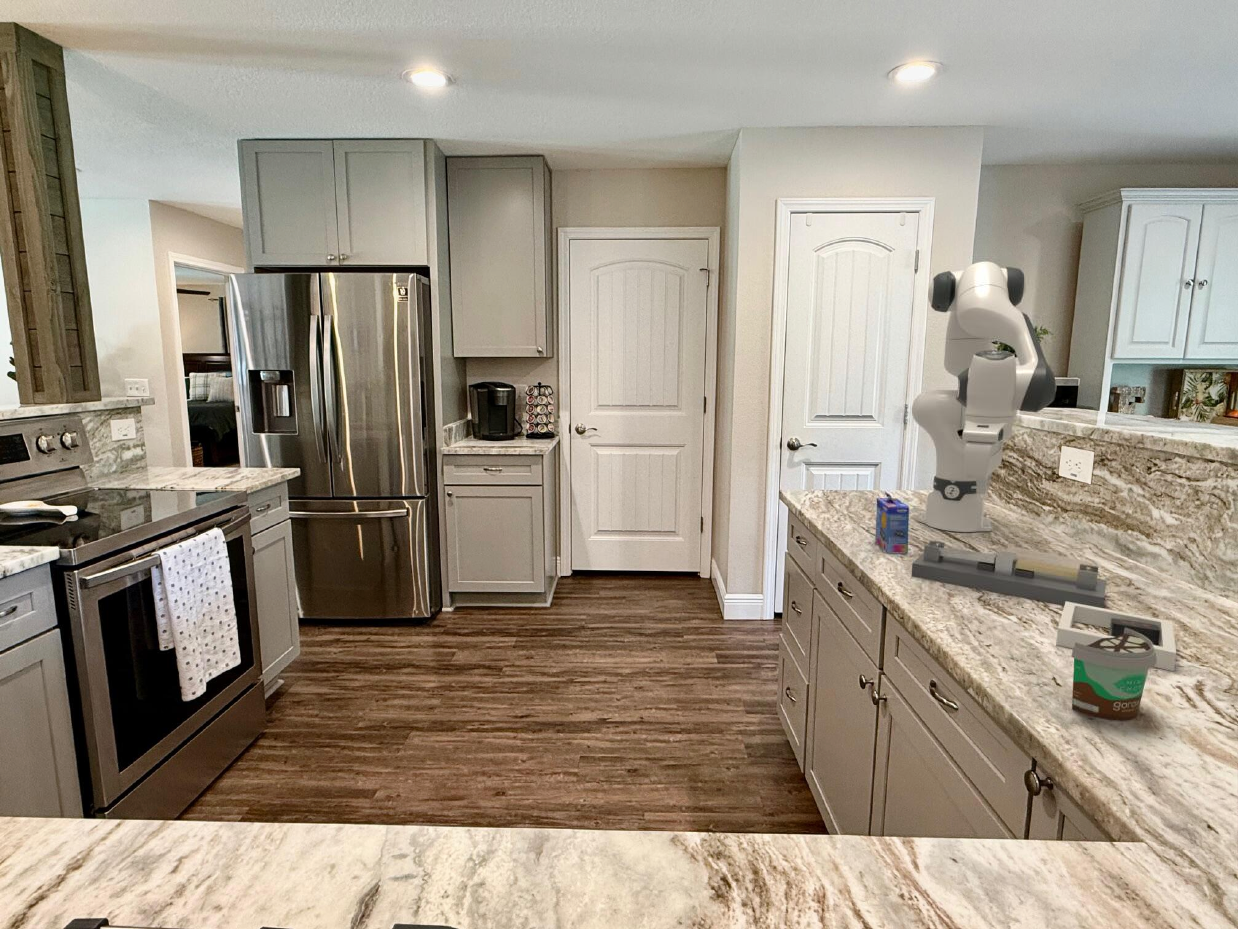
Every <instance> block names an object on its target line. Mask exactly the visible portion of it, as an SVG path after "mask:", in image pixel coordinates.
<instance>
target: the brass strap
mask: <svg viewBox="0 0 1238 929" xmlns="http://www.w3.org/2000/svg"><path fill="white" fill-rule="evenodd" d="M1016 568H1018V569H1024V570H1029V571H1035V572H1041V573H1046V574H1052V575H1057V576H1063V577H1068V578H1074V579H1077V577H1078V569H1074V568H1068V567H1062V566H1057V565H1051V564H1045V563H1039V562H1033V561H1027V560H1021V559H1018V560H1017V562H1016ZM1079 570H1080V569H1079ZM1085 571H1091V570H1088V569H1086V570H1085ZM1091 572H1092V571H1091Z"/></svg>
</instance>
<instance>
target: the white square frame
mask: <svg viewBox="0 0 1238 929" xmlns="http://www.w3.org/2000/svg"><path fill="white" fill-rule="evenodd" d="M1111 618H1115V619H1122V620H1128V621H1135V622H1141V623H1148V624H1154V625H1157V626H1158V627H1159V628H1160V636H1159V643H1158V646H1156V645H1153V647H1154V648H1155V652H1156V658H1157V663H1156V665H1155V666H1153V667H1152V668H1157V669H1162V670H1167V671H1170V672H1174V671H1175V666H1176V665H1175V664H1176V658H1177V647H1176V641H1175V640H1176V639H1175V633H1174V623H1173V621H1172V620H1167V619H1162V618H1155V617H1150V616H1146V615H1140V614H1136V613H1135V614H1134V613H1130V612H1125V611H1119V610H1113V609H1108V608H1104V607H1103V608H1098V607H1093V606H1088V605H1082V604H1077V603H1072V602H1067V601H1066V602H1065V606H1064V605H1063V608H1062V614H1061V616H1060V620H1059V623H1058V626H1057V633H1056V646H1060V647H1064V648H1069V649H1073V647H1075V642H1077V643H1080V644H1082V645H1086V646H1087V645H1090V644H1092V643H1094V642H1096V641H1097V640H1100V639H1102V638H1113V636H1110V635H1109V634H1108V635H1107V634H1103V633H1099V632H1093V631H1090V630H1085V629H1079V628H1074V627H1073V624H1074V622H1076V623H1080V624H1086V625H1091V626H1096V627H1098V628H1099V627H1101V628H1104V627H1105V628H1106V629H1109V630H1110V623H1111Z"/></svg>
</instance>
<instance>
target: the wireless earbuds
mask: <svg viewBox="0 0 1238 929" xmlns="http://www.w3.org/2000/svg"><path fill="white" fill-rule="evenodd" d="M1125 628H1128V629H1131V630H1133V631H1135V632H1138V633H1140V634H1142V635H1144V636H1145V637H1147V638H1148V639H1149V640H1150V641H1151V642H1152V643H1153V645H1156V646H1159V636H1160V628H1159V627H1158V626H1157V625H1154V624H1148V623H1141V622H1135V621H1128V620H1122V619H1115V618H1111V623H1110V629H1109V630H1108V631H1109V632H1108V633H1109V634H1108V636H1113V637H1117V636H1120V635H1122V634H1124V630H1125Z"/></svg>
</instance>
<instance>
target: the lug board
mask: <svg viewBox="0 0 1238 929" xmlns="http://www.w3.org/2000/svg"><path fill="white" fill-rule="evenodd" d="M945 544H946V542H944V541H938V540H929V543H928V544H925V545H924V546H923V553H922V554H921V555H920V556H918V557H917V558H916V559H915V560H914V561H913V562H912V564H911V577H915V578H920V579H924V580H930V581H935V582H941V583H945V584H951V585H955V586H956V585H957V586H961V587H966V588H971V589H977V590H983V591H987V592H993V593H997V594H1001V595H1002V594H1004V595H1008V596H1011V597H1012V596H1013V597H1019V598H1024V599H1029V600H1032V601H1033V600H1034V601H1038V602H1039V601H1040V602H1044V603H1050V604H1054V605H1060V606H1063V607H1064V606H1065V602H1066V601H1067V602H1072V603H1077V604H1082V605H1088V606H1093V607H1098V608H1104V604H1105V597H1106V590H1107V589H1106V588H1107V580H1106V579H1100V578H1098V575H1099V566H1098V565H1093V564H1092V565H1086V564H1080V567H1079V569H1080V570H1079V569H1078V577H1077V579H1074V578H1068V577H1063V576H1057V575H1052V574H1046V573H1041V572H1035V571H1029V570H1024V569H1018V568H1016V558H1017V553H1011V552H1004V550H1000V551H999V552H998V553H999V554H998V556H997V557H996V562H995V563H987V562H980V561H973V560H966V559H959V558H952V557H945V556H939V555H940V547H944V548H946V545H945ZM934 545H937V546H939V547H936V546H934ZM1086 569H1088V570H1091V571H1092V572H1091V571H1085V570H1086Z"/></svg>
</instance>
